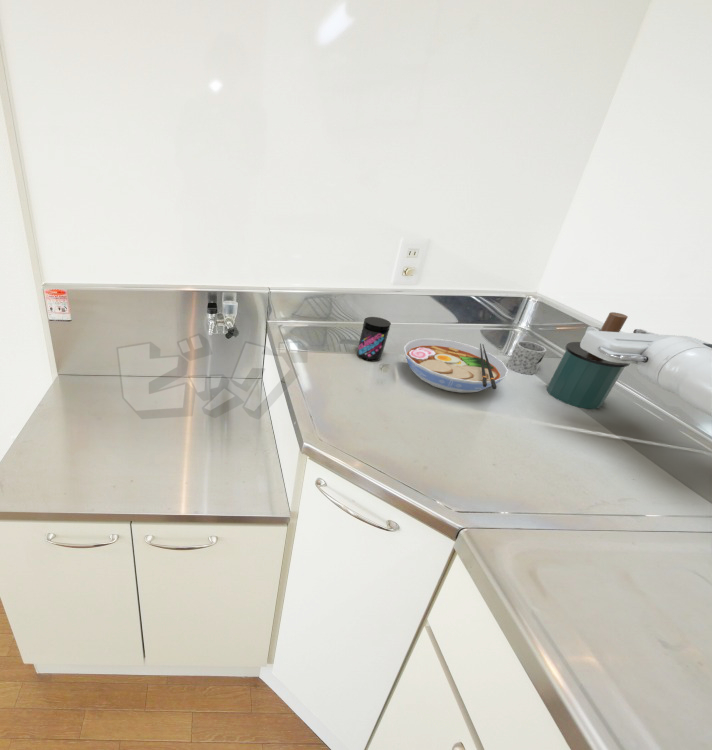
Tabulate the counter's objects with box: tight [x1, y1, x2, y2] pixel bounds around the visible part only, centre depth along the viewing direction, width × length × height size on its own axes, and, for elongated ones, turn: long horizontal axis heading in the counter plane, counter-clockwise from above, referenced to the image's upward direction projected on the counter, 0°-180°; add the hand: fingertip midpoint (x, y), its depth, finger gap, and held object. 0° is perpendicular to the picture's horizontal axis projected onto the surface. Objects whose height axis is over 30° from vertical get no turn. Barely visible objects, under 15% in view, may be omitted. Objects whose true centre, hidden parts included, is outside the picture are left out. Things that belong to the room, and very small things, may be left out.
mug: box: [506, 340, 547, 375], centre depth 114 cm, size 10×7×7 cm, turn 162°
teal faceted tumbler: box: [546, 349, 625, 410], centre depth 97 cm, size 10×10×12 cm
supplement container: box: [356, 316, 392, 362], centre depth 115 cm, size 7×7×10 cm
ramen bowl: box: [403, 337, 509, 394], centre depth 103 cm, size 25×23×8 cm
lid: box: [564, 311, 631, 368], centre depth 92 cm, size 11×11×10 cm
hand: (613, 331), depth 88 cm, fingers open, 8 cm apart
